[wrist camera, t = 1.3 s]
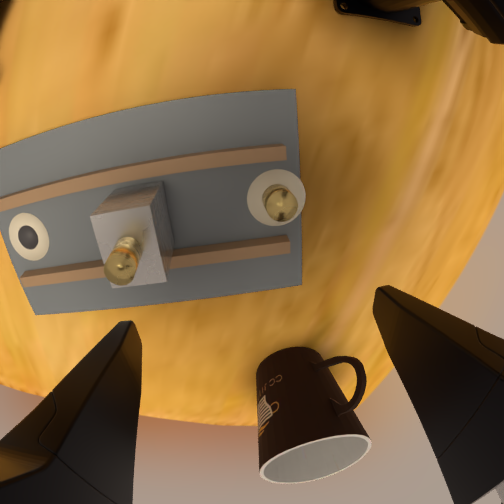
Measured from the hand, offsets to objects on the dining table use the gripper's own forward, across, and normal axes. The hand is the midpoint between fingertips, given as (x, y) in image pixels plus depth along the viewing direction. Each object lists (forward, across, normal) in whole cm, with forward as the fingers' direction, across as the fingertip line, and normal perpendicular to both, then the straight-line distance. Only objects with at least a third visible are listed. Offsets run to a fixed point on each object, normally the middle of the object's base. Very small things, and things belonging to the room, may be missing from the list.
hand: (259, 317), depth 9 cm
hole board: (+12, +6, 0) cm, 14 cm away
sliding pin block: (+11, +5, 0) cm, 12 cm away
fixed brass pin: (+11, -3, 0) cm, 11 cm away
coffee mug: (+12, -5, +16) cm, 21 cm away
